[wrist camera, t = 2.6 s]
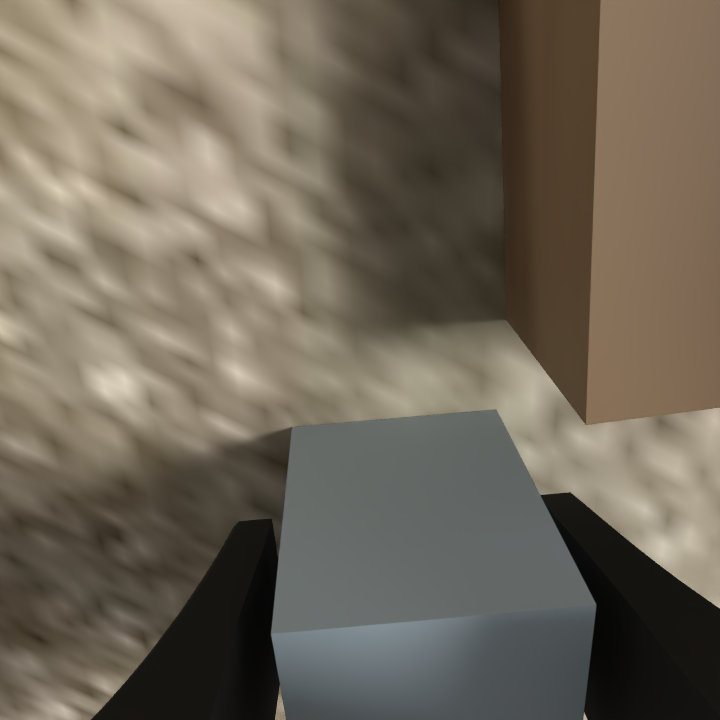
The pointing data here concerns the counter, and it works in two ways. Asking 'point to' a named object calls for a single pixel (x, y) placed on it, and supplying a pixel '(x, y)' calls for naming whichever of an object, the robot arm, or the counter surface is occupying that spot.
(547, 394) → the counter surface
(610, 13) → the walnut base
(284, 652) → the blue block
